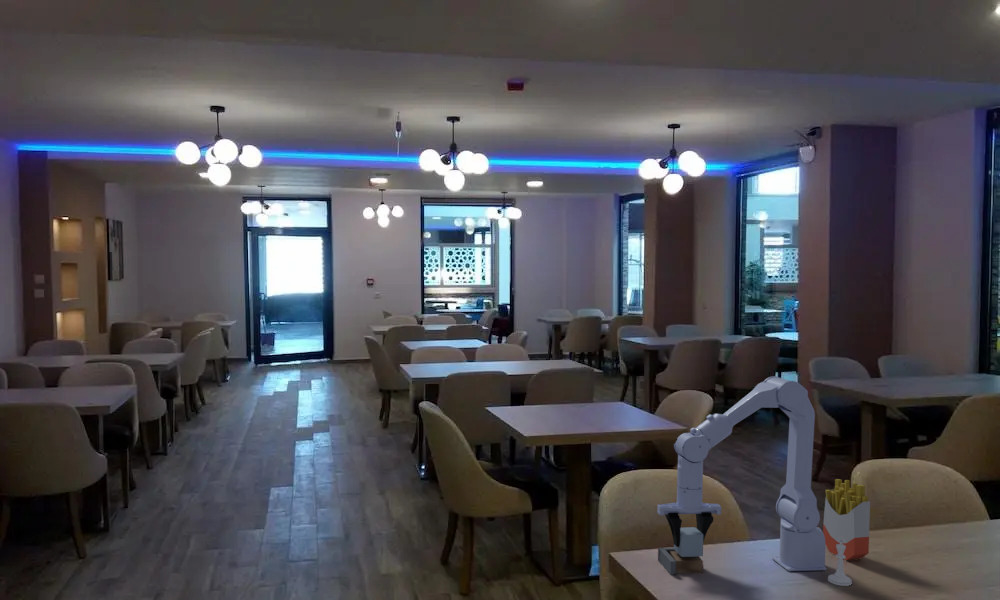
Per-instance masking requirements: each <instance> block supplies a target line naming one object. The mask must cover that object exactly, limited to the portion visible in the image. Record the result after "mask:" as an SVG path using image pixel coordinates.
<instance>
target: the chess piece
mask: <svg viewBox="0 0 1000 600" xmlns="http://www.w3.org/2000/svg"><path fill="white" fill-rule="evenodd" d="M837 542H840V544H837V545H836V548H837V551H838V554H836V556H835V555H834V556H835V558H838V559H837V563H836V564H837V565H836V570H835V572H834V573H832V574H829V575H828V576H827V581H828V582H829V583H831V584H833V585H836V586H840V587H842V586H843V587H849V585H850V586H851V584H853V580H852V578H850V577H849V576H848V575H846V573H845V569H844V567H845V566H844V560H843V559H845V558H846V556H845V555H843V553H844V551H845V548H846V546H845V545H843V544H842V542H845V540H843V539H842V537H840V539H837Z"/></svg>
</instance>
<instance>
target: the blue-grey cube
mask: <svg viewBox="0 0 1000 600" xmlns="http://www.w3.org/2000/svg"><path fill="white" fill-rule="evenodd" d="M673 547H674V550H675V551H676V552H677V553H678V554H679V555H680V556H681V557H694V556H699V557H704V542H703V534H702V533H701V532H700V531H699V530H698V529H697V527H694V526H693V527H692V526H691V527H687V526H686V527H681V529H680V545H679V547H676V546H675V545H674V544H673Z"/></svg>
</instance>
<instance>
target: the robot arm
mask: <svg viewBox="0 0 1000 600" xmlns="http://www.w3.org/2000/svg"><path fill="white" fill-rule="evenodd" d="M808 393H809V391H808V390H807V389H806V388H805V387H804V386H803V385H801V384H800V383H799V382H798V381H796V380H795V381H794V380H788V379H786V378H785V379H784V378H781V377H779V376H775V375H774V376H769V377H767V378H765V379H764V380H763V381H761V382H760V383H757V384H756V385H755V387H754V388H753V389H752V390H751V391H750V392H748V394H746V395H745V396H744V397H742V398H741V399H740V400H738V402H736V403H735V404H734V405H733V406H731V407H730V408H729V409H728V410H726V411H725V412H724V413H723V414H722V413H713V414H708V415H707V416H706V417H705V418H706V419H705V420H704V421H703V422H701V423H700V424H699V425H697V426H696V427H692V428H690V429H689V430H690V431H689V432H683V433H682V434H680V435H679V436H678V437H677V438H676V439H677V440H675V443H673V448H674V450H675V453H676V454H677V472H676V473H677V477H676V479H677V480H676V481H677V482H676V502H671V503H663V504H657V506H656V507H657V508H656V509H657V511H656V512H657V514H658V515H659V516H665V519H666V520H667V522H668V525H669V528H670V530H671V535H672V539H673V540H672V541H673V546H674V545H675V546H676V547H679V545H680V529H681V528H682V522H683V520H682V519H681V518H680V515H695V518H696V519H695V520H696V521H695V522H696V529H698V530H699V531H700V532H701V533H702V534H703V543H705V539H706V535H707V533H708V530H709V528H710V527H711V525H712V523H714V516H713V515H714V514H716V515H722V506H721V505H720V504H719V503H708V502H703V487H704V484H703V482H704V481H703V480H704V475H703V474H704V460H706V458H707V457H708V454H709V451H710V450H711V449H712V448H714V447H715V446H716V445H718V444H719V443H720V442H722V441H723V440H724V439H726V438H727V437H730V435H731V434H732V432H733V428H734V426H735V425H736V424H738V423H740V422H741V421H742V420H744V419H746V418H747V417H749V416H751V415H752V414H754V413H755V412H756V411H759V410H760V409H763V408H764V409H765V408H768V409H769V408H770V409H771V408H772V409H773V408H774V409H775V408H776V409H777V408H779V409H780V410H781V411H782V412H783V413H784V414H785V415H786V416H787V417H788V418H789V421H788V422H789V424H788V425H789V427H788V442H787V443H788V444H787V460H786V478H785V484H784V485H783V486H782V487H781V488H780V493H779V497H778V499H777V501H776V504H775V511H776V514H777V515H778V517H780V528H779V529H780V534H779V537H780V538H779V556H772V560H773V561H775V562H776V563H777V564H779V566H781V567H782V568H783V569H785V570H786V571H788V572H803V571H805V572H807V571H808V572H809V571H827V567H826V544H825V537H824V534H823V529H821V527H819V526H818V525H819V523H820V519H821V516H820V512H819V510H818V505H817V503H818V502H817V501H818V500H817V497H816V496H815V494H814V492H813V490H812V471H813V453H814V440H815V439H814V437H815V419H816V412H815V409H814V407H813V405H812V403H811V401H810V398H809V396H808ZM817 526H818V527H817Z"/></svg>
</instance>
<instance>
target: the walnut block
mask: <svg viewBox="0 0 1000 600" xmlns="http://www.w3.org/2000/svg"><path fill="white" fill-rule="evenodd" d="M670 555H671V557H672V558H673V559H674V560H675V561H676V572H682V574H687V573H688V574H703V565H704V562H703V561H704V560H702V558H701V556H694V557H681V556H680V555H679V554H678V553H677V552H676V551H670ZM683 572H684V573H683Z"/></svg>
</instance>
